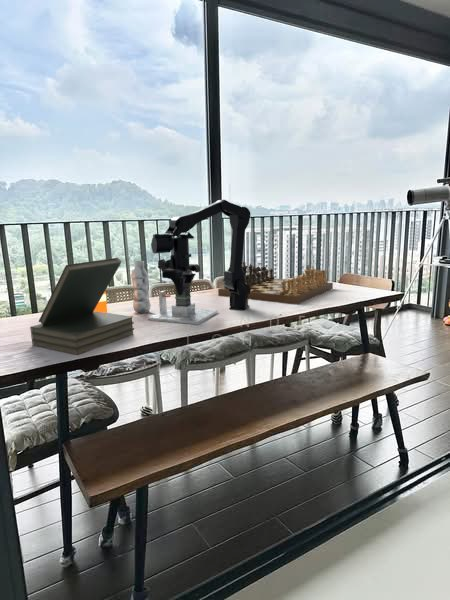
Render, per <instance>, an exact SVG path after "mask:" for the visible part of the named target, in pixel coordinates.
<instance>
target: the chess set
mask: <svg viewBox="0 0 450 600" xmlns="http://www.w3.org/2000/svg"><path fill="white" fill-rule="evenodd" d="M246 263H247V262H246V261H242V269H243V272H244V275H245V283H246V284H247V285H248V286H249V287H250V288H251V291H250V294H248V300H254V301H255V300H256V301H264V302H273V303H280V304H282V303H283V304H291V305H299V304H301V302H302V303H304V302H306V301H308V299H309V300H311V299H313V298H315V296H316V297H318V296H320V295H323V294H325V293H327V292H329V291H331V289H332V290H333V287H334V285H333V284H334V283H333V282H330V281H328V278H327V274H328V270H324V269H323V270H321V269H319V270H318V269H315V267H314V266H311V268H310V264H307V265H306V269H304V273H302V274H300V275H298V276H297V277H291V278H286V279H285V278H277V277H276V278H275V276H274V275H273V274H274V268H270V269H267V266H259V265H258V266H257V267H256V265H252V263H249V264H248V265H246ZM326 291H327V292H326ZM217 292H218V296H219V297H229V298H230V296H231V293H232V292H229V290H228V288H227V287H226V286H225V285H224V287H219V288H217ZM324 292H325V293H324ZM319 294H320V295H319ZM317 295H318V296H317ZM312 297H313V298H312ZM310 298H311V299H310Z"/></svg>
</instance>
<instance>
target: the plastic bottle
mask: <svg viewBox="0 0 450 600" xmlns="http://www.w3.org/2000/svg"><path fill="white" fill-rule="evenodd" d="M133 267H134V269H133V270H132V272H131V274H130V275H131V276H130V277H131V283H132V286H133V287H132V288H133V305H132V306H133V307H132V308H133V311H135V312H136V313H141V314H144V313H147V312H150V311H151V306H152V305H151V301H150V297H149V289H148V288H149V285H148V284H149V273H148V271H147V270H146V269H145V261H144V260H136V261H133Z"/></svg>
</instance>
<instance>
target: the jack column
mask: <svg viewBox="0 0 450 600" xmlns="http://www.w3.org/2000/svg"><path fill="white" fill-rule="evenodd" d="M174 293H175V297H174V299H175V304H176V306H188V305H190V304H191V303H192V300H191V297H192V295H191V285H190V283H184V288H183V292H182V295H178V292H177V289H176V287H175V286H174Z"/></svg>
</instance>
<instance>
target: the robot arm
mask: <svg viewBox="0 0 450 600" xmlns="http://www.w3.org/2000/svg"><path fill="white" fill-rule="evenodd" d="M220 213H222V214H223V215H225V216H226V217H228V218H229V223H230V227H231V230H232V231H231V232H232V233H231V247H230V257H229V258H230V260H229V267H228V269H227V270H224V271H223V278H222V281H223V282H224V286H226V287H227V288H228V290H229V292H232V293H231V296H230V297H229V310H237V311H238V310H240V311H243V310H244V311H245V310H247V309H248V308H250V305H249V299H248V294H250V291H251V288H250V287H249V286H248V285H247V284H246V283H245V275H244V272H243V269H242V266H243V262H244V261H243V260H244V259H243V258H244V245H245V235H246V234H245V233H246V229H247V228H248V226H249V224H250V221H251V219H250V218H251V210H249V208H248V207H247V206H240V205H238V204H235V203H232V202H230V201H228V200H227V199H219V200H216V201H215V202H213V203H211V204H208V205H206V206H204V207H202V208H199V209H197V210H195V211H193V212H190V213H186V214H182V215H181V214H180V215H176V216H174V217H172V218H170V222H169V227H167V228H166V229H167V230H166V231H165V232H164V233H153V234H152V239H151V243H150V248H151V251H152V253H153V254H168V253H171V251H172V253H173V254H171V255H170V259H168V260H165V259H163V258H162V259H160V260H158V261H157V268H158V269H159V270H161V277H162V279H169V280H170V281H172V283H173V284H174V288H175V287H176V289H177V292H178V295H182V292H183V288H184V283H190V286H191V284H192V283H193V280H194V278H195V276H196V275H197V274H196V273H199V272H201V267H200V265H199V264H197V263H196V264H195V263H190V258H192V253H190V249H189V248H190V245H189V244H190V243H189V240H190V239H191V240H192V239H193V240H194V239H195V236H194V235H192V233H191V232H190V230H191V229H193V228H194V227H195V226H196V225H197V224H198V223H200V222H202V221H204V220H207V219H209V218H211V217H213V216H216V215H217V214H220ZM194 272H195V273H194Z"/></svg>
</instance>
